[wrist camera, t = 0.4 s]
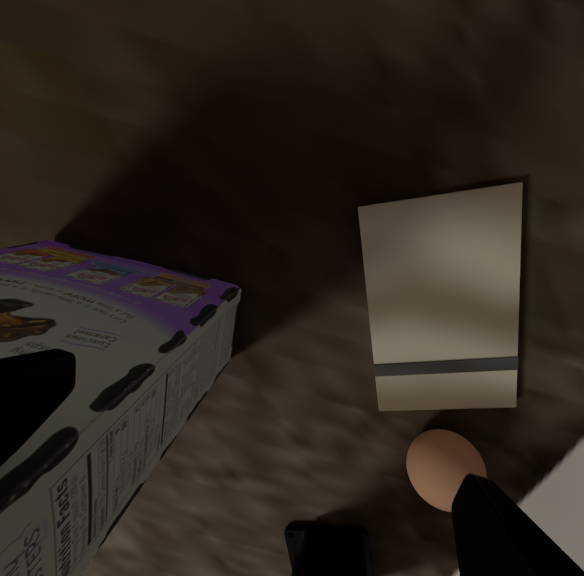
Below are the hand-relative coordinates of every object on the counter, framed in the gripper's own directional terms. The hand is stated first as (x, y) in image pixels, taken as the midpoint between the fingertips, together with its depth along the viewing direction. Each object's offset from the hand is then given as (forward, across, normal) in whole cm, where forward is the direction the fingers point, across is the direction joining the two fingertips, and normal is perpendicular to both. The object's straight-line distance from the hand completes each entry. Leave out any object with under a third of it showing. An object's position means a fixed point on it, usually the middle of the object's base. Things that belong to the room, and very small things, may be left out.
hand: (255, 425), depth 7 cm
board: (+13, -7, 0) cm, 15 cm away
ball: (+14, -10, +9) cm, 19 cm away
